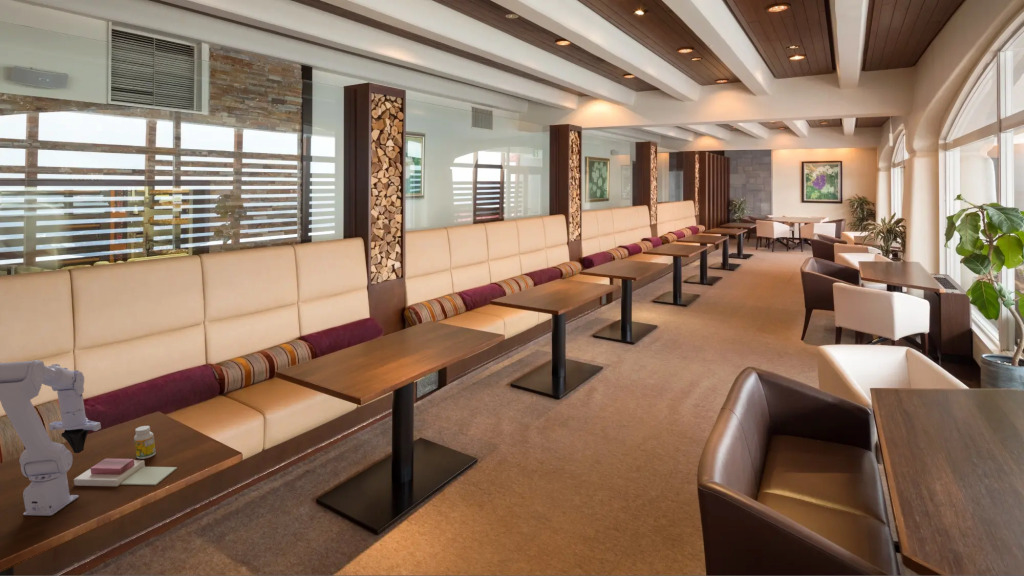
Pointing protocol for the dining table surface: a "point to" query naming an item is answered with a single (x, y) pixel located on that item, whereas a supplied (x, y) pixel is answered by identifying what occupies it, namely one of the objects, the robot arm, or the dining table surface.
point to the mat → (148, 476)
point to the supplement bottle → (144, 442)
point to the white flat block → (107, 477)
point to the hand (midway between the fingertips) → (79, 451)
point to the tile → (112, 466)
